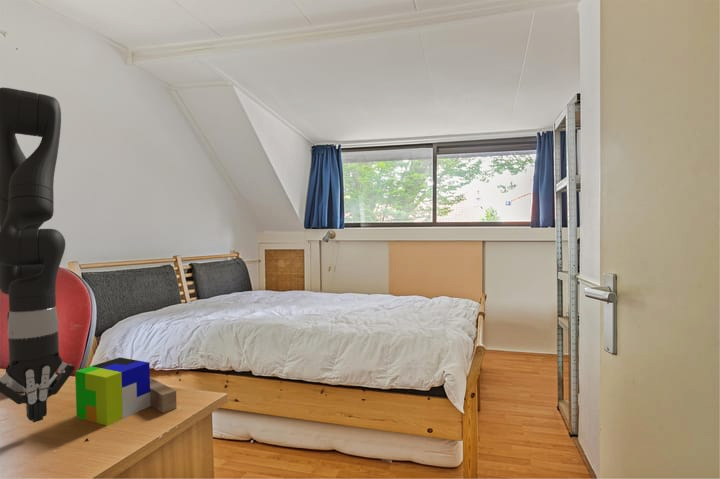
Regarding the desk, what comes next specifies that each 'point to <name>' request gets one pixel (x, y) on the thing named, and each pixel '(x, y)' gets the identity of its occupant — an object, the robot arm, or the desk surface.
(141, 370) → the puzzle toy
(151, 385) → the block
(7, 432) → the desk surface
